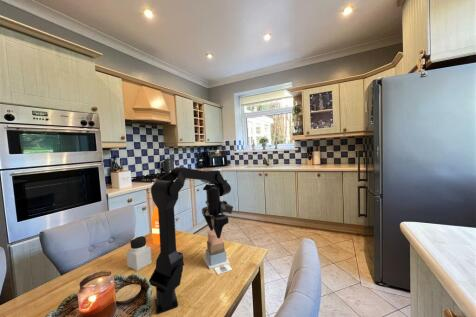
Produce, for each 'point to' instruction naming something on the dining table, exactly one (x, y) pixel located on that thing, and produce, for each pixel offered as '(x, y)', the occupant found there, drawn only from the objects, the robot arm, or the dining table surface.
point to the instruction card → (223, 269)
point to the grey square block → (215, 260)
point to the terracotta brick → (214, 238)
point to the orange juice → (155, 226)
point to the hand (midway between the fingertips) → (215, 234)
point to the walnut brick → (215, 248)
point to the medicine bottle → (138, 253)
